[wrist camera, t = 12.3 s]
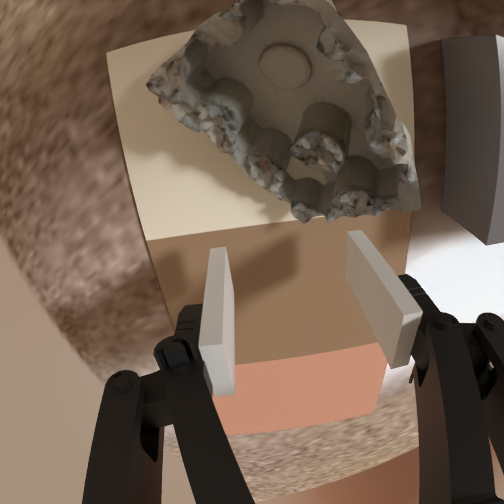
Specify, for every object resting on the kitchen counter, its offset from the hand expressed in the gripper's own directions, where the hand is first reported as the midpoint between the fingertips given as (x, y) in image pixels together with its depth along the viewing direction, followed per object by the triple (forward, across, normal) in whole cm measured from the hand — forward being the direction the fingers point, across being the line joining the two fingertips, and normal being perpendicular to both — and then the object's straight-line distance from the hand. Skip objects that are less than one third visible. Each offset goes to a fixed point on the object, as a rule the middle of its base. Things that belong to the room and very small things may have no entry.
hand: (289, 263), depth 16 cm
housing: (+3, +16, +6) cm, 18 cm away
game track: (+3, 0, -4) cm, 5 cm away
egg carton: (+4, +1, +7) cm, 8 cm away
